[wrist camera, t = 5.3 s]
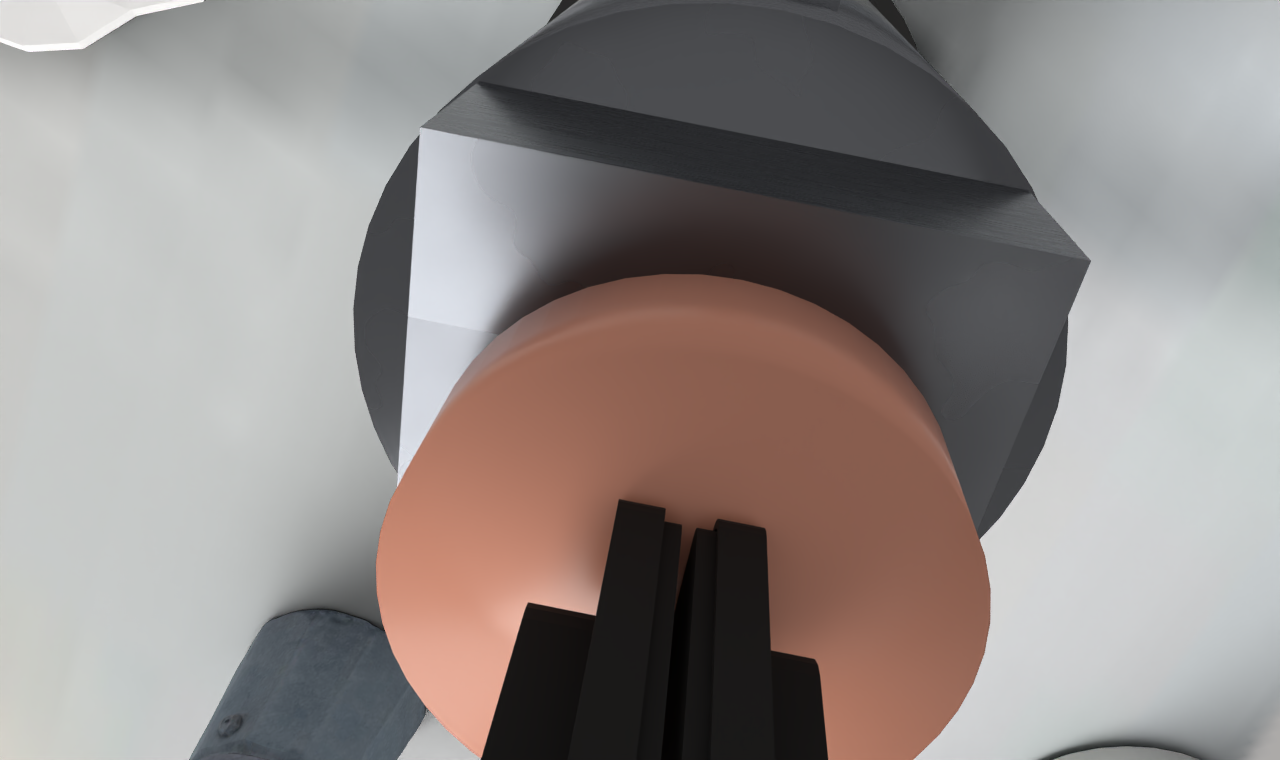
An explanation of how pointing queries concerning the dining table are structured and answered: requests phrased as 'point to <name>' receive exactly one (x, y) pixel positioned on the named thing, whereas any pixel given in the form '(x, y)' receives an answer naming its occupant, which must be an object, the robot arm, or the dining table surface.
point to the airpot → (727, 210)
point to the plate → (70, 21)
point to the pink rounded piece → (692, 498)
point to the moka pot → (314, 695)
